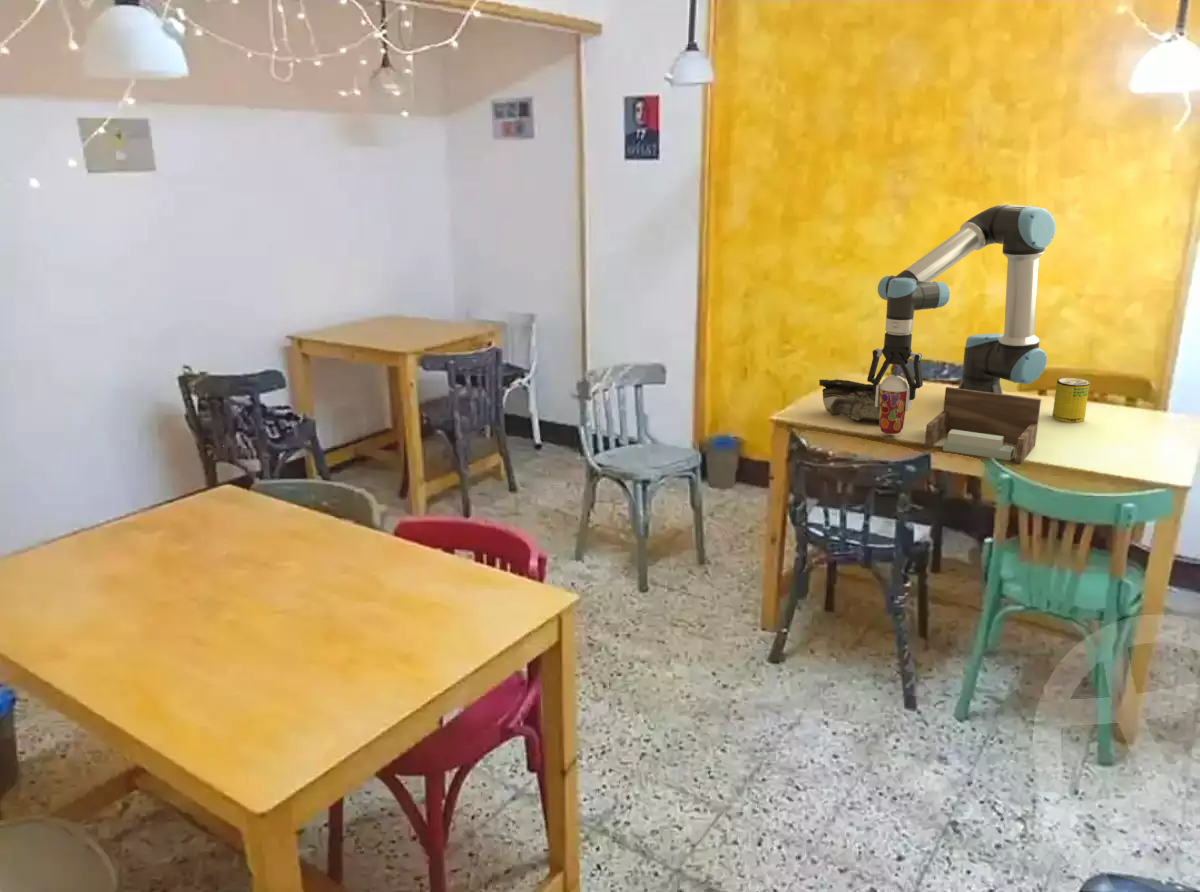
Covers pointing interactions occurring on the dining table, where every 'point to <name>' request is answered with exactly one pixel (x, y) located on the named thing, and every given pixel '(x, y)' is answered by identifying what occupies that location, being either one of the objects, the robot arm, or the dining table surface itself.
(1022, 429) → the walnut rack
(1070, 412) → the beverage can
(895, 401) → the smoothie
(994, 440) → the offcut stack
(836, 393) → the hollow geode rock
